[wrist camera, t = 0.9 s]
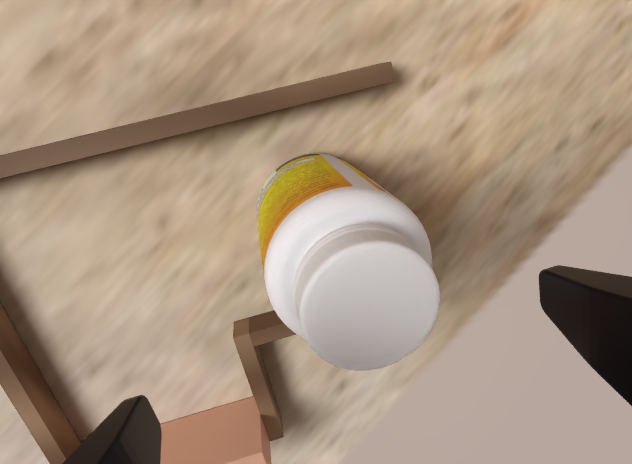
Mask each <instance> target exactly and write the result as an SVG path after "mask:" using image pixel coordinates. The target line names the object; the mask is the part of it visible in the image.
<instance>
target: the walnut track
mask: <svg viewBox="0 0 632 464" xmlns="http://www.w3.org/2000/svg"><path fill="white" fill-rule="evenodd" d="M390 82H394V77H393V70H392V63H391V62H386V63H380V64H376V65H372V66H368V67H364V68H360V69H355V70H351V71H347V72H343V73H339V74H335V75H331V76H327V77H322V78H318V79H314V80H310V81H306V82H302V83H298V84H294V85H289V86H285V87H281V88H277V89H273V90H269V91H265V92H260V93H256V94H252V95H248V96H244V97H240V98H236V99H232V100H227V101H223V102H219V103H215V104H211V105H207V106H203V107H199V108H194V109H190V110H186V111H182V112H178V113H174V114H170V115H165V116H161V117H157V118H153V119H149V120H145V121H141V122H137V123H132V124H128V125H124V126H120V127H116V128H112V129H108V130H104V131H99V132H95V133H91V134H87V135H83V136H79V137H75V138H70V139H66V140H62V141H58V142H54V143H50V144H46V145H42V146H37V147H33V148H29V149H25V150H21V151H17V152H13V153H9V154H4V155H0V178H4V177H8V176H12V175H16V174H20V173H24V172H28V171H32V170H36V169H40V168H44V167H48V166H52V165H57V164H61V163H65V162H69V161H73V160H77V159H81V158H85V157H89V156H93V155H97V154H101V153H105V152H109V151H113V150H117V149H122V148H126V147H130V146H134V145H138V144H142V143H146V142H150V141H154V140H158V139H162V138H166V137H170V136H174V135H178V134H182V133H187V132H191V131H195V130H199V129H203V128H207V127H211V126H215V125H219V124H223V123H227V122H231V121H235V120H239V119H243V118H247V117H252V116H256V115H260V114H264V113H268V112H272V111H276V110H280V109H284V108H288V107H292V106H296V105H300V104H304V103H308V102H312V101H316V100H321V99H325V98H329V97H333V96H337V95H341V94H345V93H349V92H353V91H357V90H361V89H365V88H369V87H373V86H377V85H381V84H386V83H390ZM295 334H296V333H294V332H293V331H292V330H291V329H289V328H288V327H287V326H286V325H285V324H284V323H283V321H282V320H281V319H280V318H279V317H278V315H277V314H276V312H275V311H271V312H268V313H264V314H261V315H257V316H253V317H250V318H246V319H243V320H239V321H236V322H234V330H233V339H234V342H235V345H236V347H237V350H238V353H239V356H240V359H241V362H242V364H243V367H244V370H245V373H246V376H247V379H248V381H249V384H250V387H251V390H252V393H253V396H254V398H255V401H256V404H257V407H258V410H259V413H260V415H261V418H262V421H263V424H264V427H265V430H266V432H267V435H268V438H269V441H272V440H275V439H279V438H282V437H284V436H283V427H282V418H281V414H280V411H279V408H278V405H277V402H276V399H275V396H274V393H273V390H272V387H271V384H270V381H269V378H268V375H267V372H266V369H265V366H264V363H263V360H262V357H261V354H260V351H259V348H258V345H261V344H264V343H267V342H271V341H274V340H278V339H281V338H285V337H288V336H292V335H295ZM0 384H1V386H2V388H3V389H4V391H5V392H6V394H7V396H8V397H9V399H10V400H11V402H12V404H13V405H14V407H15V408H16V410H17V412H18V413H19V415H20V416H21V418H22V420H23V421H24V423H25V424H26V426H27V428H28V429H29V431H30V432H31V434H32V436H33V437H34V439H35V440H36V442H37V443H38V445H39V447H40V448H41V450H42V451H43V453H44V455H45V456H46V458H47V459H48V461H49V463H50V464H62V463H63V462H64V461H65V460H66V459H67V458H68V457H69V456H70V455H71V454H72V453H73V452H74V451H75V450H76V449H77V448H78V447H79V446H80V444H81V442H80V441H79V439H78V437H77V435H76V434H75V432H74V430H73V429H72V427H71V425H70V423H69V422H68V420H67V418H66V416H65V415H64V413H63V411H62V409H61V408H60V406H59V404H58V402H57V401H56V399H55V397H54V396H53V394H52V392H51V390H50V389H49V387H48V385H47V383H46V382H45V380H44V378H43V376H42V375H41V373H40V371H39V369H38V368H37V366H36V364H35V362H34V361H33V359H32V357H31V356H30V354H29V352H28V350H27V349H26V347H25V345H24V343H23V342H22V340H21V338H20V336H19V335H18V333H17V331H16V329H15V328H14V326H13V324H12V322H11V321H10V319H9V317H8V316H7V314H6V312H5V310H4V309H3V307H2V305H1V303H0Z"/></svg>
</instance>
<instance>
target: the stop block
mask: <svg viewBox="0 0 632 464" xmlns="http://www.w3.org/2000/svg"><path fill="white" fill-rule="evenodd" d="M160 426H161V431H162V440H161V461H160V464H271V453H270V441H269V438H268V435H267V432H266V430H265V427H264V424H263V421H262V418H261V415H260V413H259V410H258V407H257V404H256V401H255V398H254V397H250V398H247V399H243V400H240V401H237V402H233V403H230V404H227V405H223V406H220V407H217V408H213V409H210V410H207V411H203V412H200V413H197V414H193V415H190V416H186V417H183V418H180V419H176V420H173V421H170V422H166V423H163V424H160Z"/></svg>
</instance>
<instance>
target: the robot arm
mask: <svg viewBox="0 0 632 464" xmlns="http://www.w3.org/2000/svg"><path fill="white" fill-rule="evenodd" d="M539 289H540V303H541V306H542V309H543V310H544V312H545V313H546V314H547V316H548V317H549V318H550V319H551V320H552V322H553V323H554V324H555V325H556V326H557V328H559V330H560V331H561V332H562V333H563V335H564V336H565V337H566V338H567V339H568V341H569V342H570V343H571V344H572V345H573V346H574V348H575V349H576V350H577V351H578V352H579V353H580V355H581V356H582V357H583V358H584V359H585V360H586V361H587V362H588V364H590V366H591V367H592V368H593V369H594V370H595V371H596V372H597V373H598V374H599V375H600V376H601V377H602V378H604V380H605V381H606V382H607V383H609V384H610V385H611V386H612V387H613V388H614V389H615V390H616V391H617V392H618V393H619V394H620V395H621V396H622V397H623V398H624V399H625V400H626V401H627V402H628V403H629V404H630V405H631V406H632V277H629V276H622V275H616V274H609V273H604V272H597V271H591V270H585V269H579V268H573V267H566V266H554V267H551V268H548V269H545V270H542V271H541V272H540V274H539ZM161 440H162V431H161V426H160V423H159V421H158V419H157V417H156V415H155V413H154V411H153V409H152V407H151V405H150V403H149V401H148V399H147V398H146V397H145V396H143V395H139V396H136V397H133V398H129V399H126V400H124V401H123V402H121V403H120V404H119V406H118V407H117V408H116V409H115V410H114V411H113V412H112V413H111V414H110V415H109V416H108V417H107V418H106V419H105V420H104V421H103V422H102V423H101V424H100V425H99V426H98V427H97V428H96V429H95V430H94V431H93V432H92V433H91V434H90V435H89V436H88V437H87V438H86V439H85V440H84V441H83V442H82V443H81V444H80V446H79V447H78V448H77V449H76V450H75V451H74V452H73V453H72V454H71V455H70V456H69V457H68V458H67V459H66V460H65V461H64V462H63V463H62V464H160V461H161Z"/></svg>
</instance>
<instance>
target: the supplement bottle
mask: <svg viewBox="0 0 632 464" xmlns="http://www.w3.org/2000/svg"><path fill="white" fill-rule="evenodd" d="M257 221H258V229H259V238H260V247H261V255H262V263H263V271H264V279H265V285H266V290H267V294H268V297H269V299H270V302H271V305H272V307H273V309H274V310H275V312H276V314H277V315H278V317H279V318H280V319H281V320H282V321H283V323H284V324H285V325H286V326H287V327H288V328H289V329H291V330H292V331H293V332H294V333H296V334H297V335H299V336H301V337H302V338H304V339H306V341H307V342H308V344H309V345H310V347H311V348H312V349H313V350H314V351H315V352H316V353H317V354H318V355H319V356H320V357H321V358H323V359H324V360H325V361H327V362H329V363H331V364H333V365H335V366H338V367H341V368H345V369H350V370H372V369H378V368H382V367H386V366H388V365H391V364H393V363H396V362H398V361H399V360H401V359H403V358H404V357H406V356H407V355H409V354H410V353H412V352H413V351H414V350H415V349H416V348H417V347H418V346H419V345H420V344H421V343H422V342H423V341H424V340H425V338H426V337H427V335H428V334H429V333H430V331H431V329H432V327H433V325H434V323H435V321H436V318H437V315H438V311H439V305H440V290H439V284H438V281H437V278H436V275H435V273H434V271H433V269H432V254H431V247H430V242H429V239H428V236H427V234H426V231H425V229H424V227H423V225H422V224H421V222H420V221H419V219H418V218H417V216H416V215H415V214H414V213H413V212H412V211H411V210H410V209H409V208H408V207H407V206H406V205H405V204H404V203H403V202H401V201H400V200H399V199H397V198H396V197H395V196H393V195H392V194H391V193H389V192H388V191H386V190H385V189H384V188H382V187H381V186H380V185H378V184H377V183H375V182H374V181H373V180H372V179H370V178H369V177H367V176H366V175H365V174H363V173H362V172H361V171H359V170H358V169H356V168H355V167H353V166H352V165H350V164H349V163H347V162H346V161H344V160H342V159H340V158H338V157H335V156H332V155H328V154H322V153H310V154H304V155H300V156H296V157H294V158H292V159H290V160H288V161H286V162H284V163H282V164H281V165H280V166H278V167H277V168H276V169H275V170H274V171H273V172H272V173H271V174H270V176H269V177H268V178H267V180H266V181H265V183H264V185H263V187H262V189H261V192H260V195H259V198H258V203H257Z"/></svg>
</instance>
